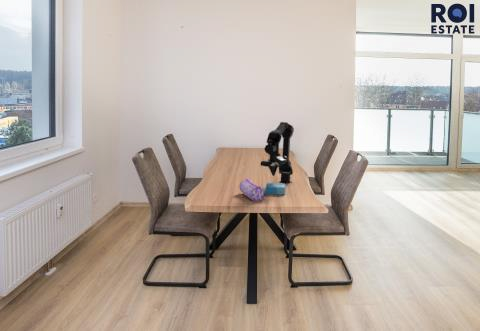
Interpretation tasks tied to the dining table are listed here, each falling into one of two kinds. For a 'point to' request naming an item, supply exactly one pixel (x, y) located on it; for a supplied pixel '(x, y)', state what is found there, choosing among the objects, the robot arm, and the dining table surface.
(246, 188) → the pencil case
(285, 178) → the robot arm
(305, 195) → the dining table surface
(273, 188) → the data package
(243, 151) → the dining table surface
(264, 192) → the felt mat
